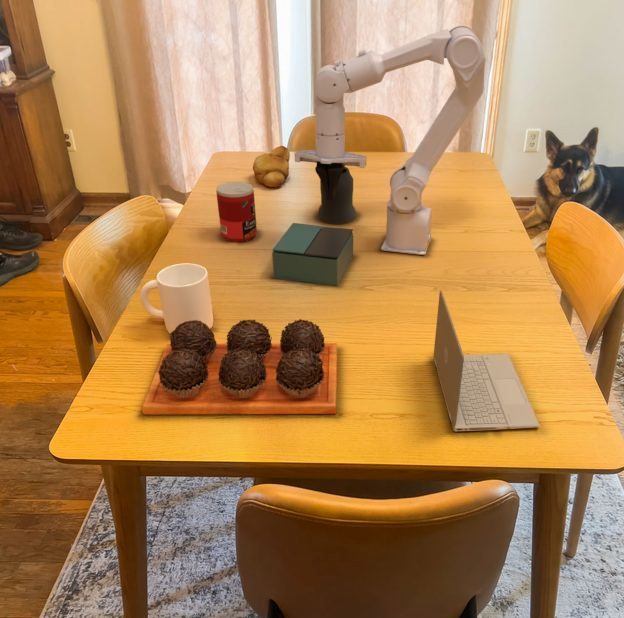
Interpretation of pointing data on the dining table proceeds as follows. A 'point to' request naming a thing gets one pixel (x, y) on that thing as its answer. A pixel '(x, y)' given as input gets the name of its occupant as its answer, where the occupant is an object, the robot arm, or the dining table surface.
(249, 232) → the canned food
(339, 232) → the lid
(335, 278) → the storage box
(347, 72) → the robot arm
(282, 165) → the bread roll
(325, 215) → the mug
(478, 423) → the laptop
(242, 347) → the truffle serving tray
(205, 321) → the mug
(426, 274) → the dining table surface
